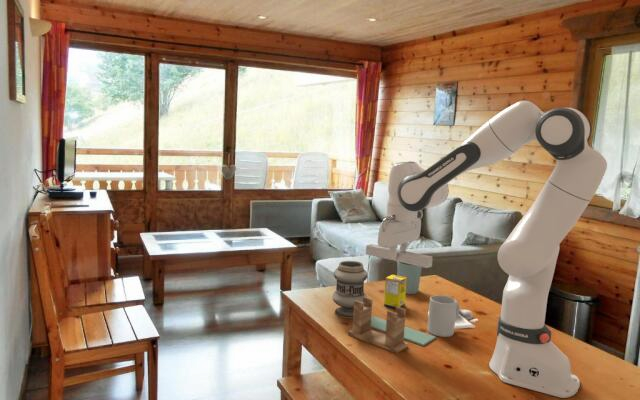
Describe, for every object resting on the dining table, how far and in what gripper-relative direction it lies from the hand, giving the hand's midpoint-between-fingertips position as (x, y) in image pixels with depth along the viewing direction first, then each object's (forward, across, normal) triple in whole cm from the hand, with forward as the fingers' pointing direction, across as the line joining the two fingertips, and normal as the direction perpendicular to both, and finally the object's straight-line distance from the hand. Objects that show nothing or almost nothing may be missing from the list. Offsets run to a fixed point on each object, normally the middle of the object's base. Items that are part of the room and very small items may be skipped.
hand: (398, 257), depth 153 cm
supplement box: (+25, +22, +13) cm, 36 cm away
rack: (+25, -9, 0) cm, 26 cm away
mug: (+25, +14, -11) cm, 31 cm away
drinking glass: (+25, +43, +18) cm, 53 cm away
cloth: (+26, +29, -8) cm, 40 cm away
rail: (+1, 0, 0) cm, 1 cm away
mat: (+25, +2, 0) cm, 25 cm away
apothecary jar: (+25, +4, +20) cm, 32 cm away
